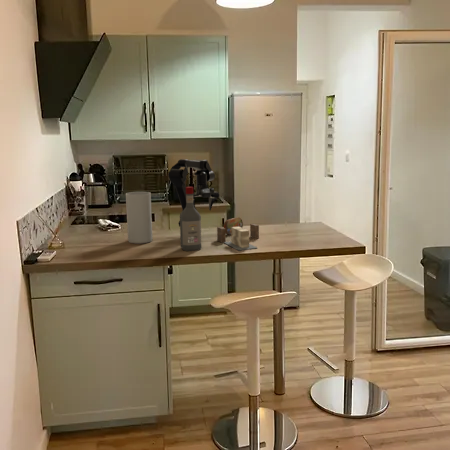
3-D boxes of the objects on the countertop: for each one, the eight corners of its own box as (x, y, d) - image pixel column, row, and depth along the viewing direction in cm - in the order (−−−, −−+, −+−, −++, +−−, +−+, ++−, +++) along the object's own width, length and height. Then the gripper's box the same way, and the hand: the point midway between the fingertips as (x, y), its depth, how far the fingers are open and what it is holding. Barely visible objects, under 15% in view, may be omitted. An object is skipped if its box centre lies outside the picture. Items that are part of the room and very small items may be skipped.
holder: (221, 242, 267) (221, 229, 265) (217, 240, 272) (217, 227, 271) (258, 238, 275) (258, 225, 273) (253, 236, 280) (253, 223, 279)
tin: (227, 236, 282) (227, 220, 280) (222, 235, 283) (222, 220, 282) (243, 231, 293) (243, 216, 292) (238, 230, 295) (238, 216, 294)
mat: (238, 250, 250) (238, 249, 250) (223, 242, 266) (223, 242, 266) (257, 248, 254) (257, 247, 254) (241, 240, 270) (241, 240, 270)
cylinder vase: (123, 242, 269) (120, 194, 264) (136, 237, 280) (134, 191, 275) (144, 244, 264) (142, 195, 259) (156, 239, 275) (155, 192, 271)
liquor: (202, 250, 252) (201, 187, 246) (183, 251, 249) (182, 188, 243) (197, 245, 260) (196, 185, 254) (179, 247, 258) (178, 186, 252)
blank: (231, 242, 264) (231, 227, 263) (238, 241, 266) (238, 226, 264) (241, 247, 253) (241, 231, 252) (249, 246, 255) (249, 230, 253)
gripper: (190, 185, 276) (191, 214, 279) (223, 183, 283) (223, 211, 286) (183, 183, 286) (184, 211, 289) (215, 181, 293) (215, 208, 296)
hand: (202, 211), depth 290 cm, fingers open, 9 cm apart
